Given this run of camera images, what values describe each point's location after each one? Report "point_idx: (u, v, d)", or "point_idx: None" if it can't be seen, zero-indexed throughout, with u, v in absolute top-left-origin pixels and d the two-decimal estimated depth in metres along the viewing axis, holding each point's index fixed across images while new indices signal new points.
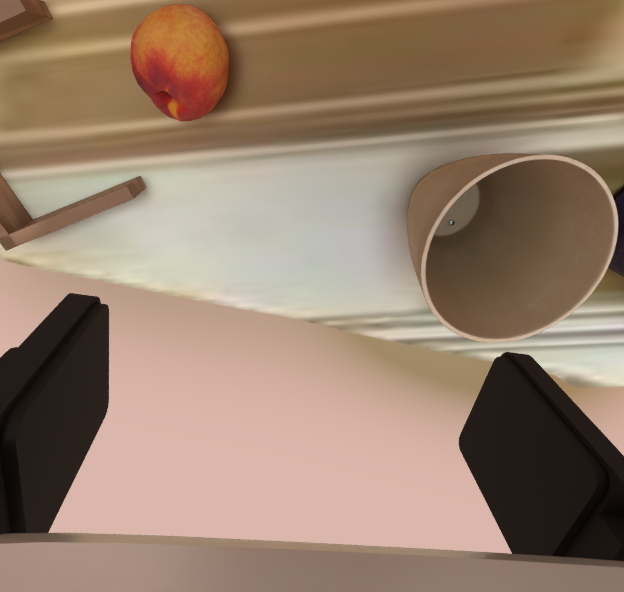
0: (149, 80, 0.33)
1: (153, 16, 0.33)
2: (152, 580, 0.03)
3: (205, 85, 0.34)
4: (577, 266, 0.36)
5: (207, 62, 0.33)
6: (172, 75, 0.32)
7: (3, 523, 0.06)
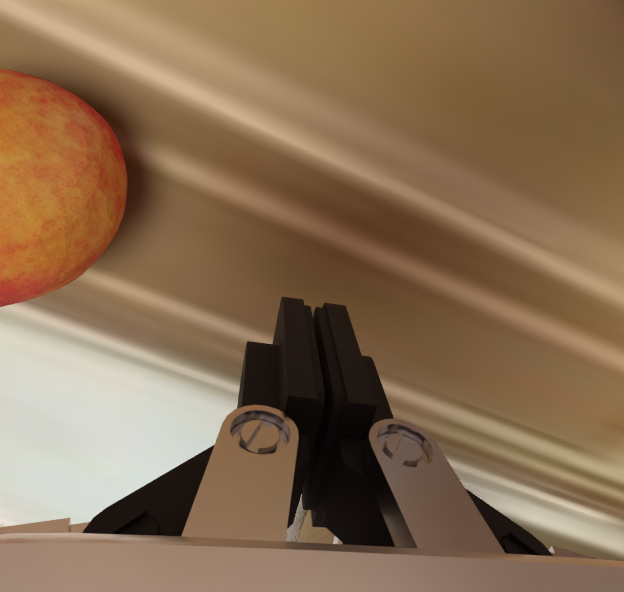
0: None
1: None
2: (152, 580, 0.03)
3: (8, 292, 0.14)
4: None
5: (33, 258, 0.14)
6: None
7: None
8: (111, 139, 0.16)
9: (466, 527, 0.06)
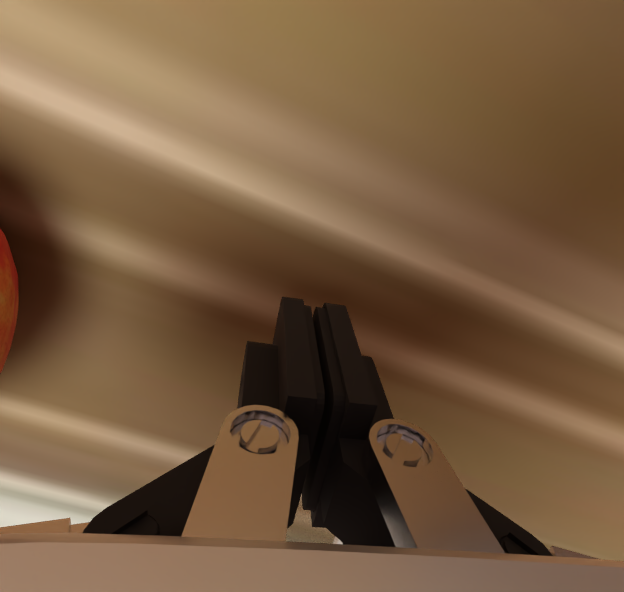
0: None
1: None
2: (152, 580, 0.03)
3: None
4: None
5: None
6: None
7: None
8: None
9: (466, 527, 0.06)
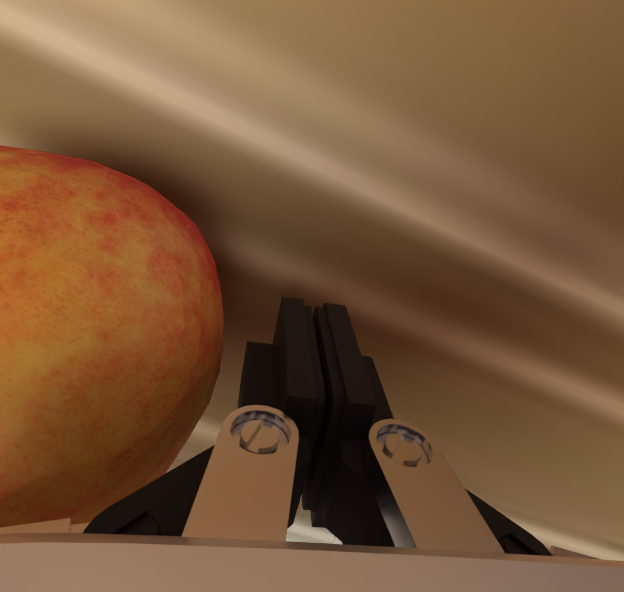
0: None
1: None
2: (152, 580, 0.03)
3: None
4: None
5: (88, 519, 0.07)
6: None
7: None
8: (208, 260, 0.09)
9: (466, 527, 0.06)
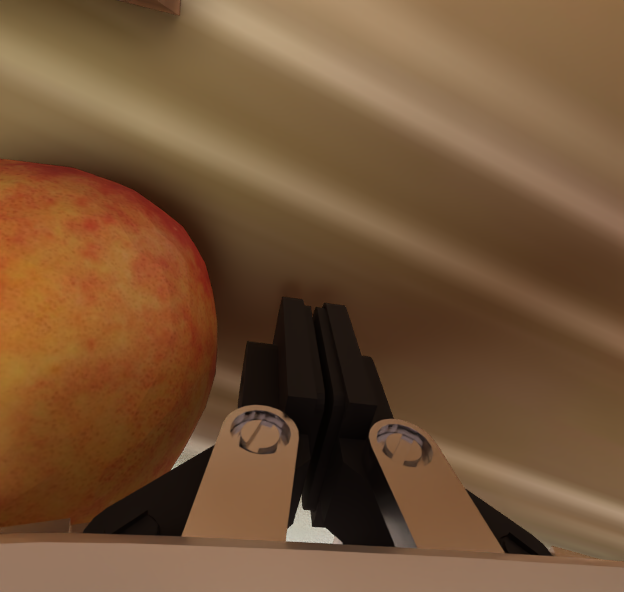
0: None
1: None
2: (152, 580, 0.03)
3: None
4: None
5: None
6: None
7: None
8: (197, 262, 0.09)
9: (466, 527, 0.06)
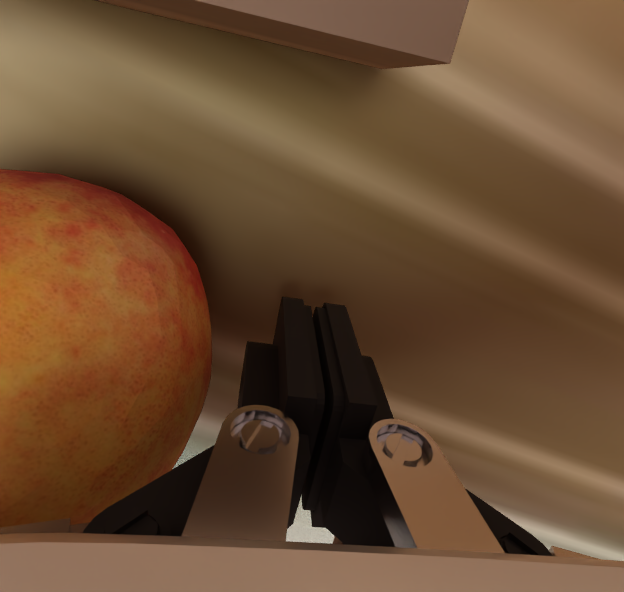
0: None
1: None
2: (152, 580, 0.03)
3: None
4: None
5: None
6: None
7: None
8: (187, 265, 0.09)
9: (466, 527, 0.06)
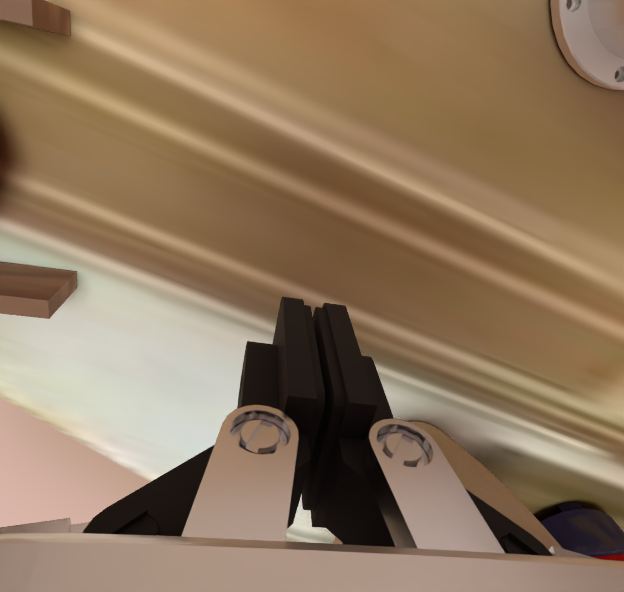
0: None
1: None
2: (152, 580, 0.03)
3: None
4: None
5: None
6: None
7: None
8: None
9: (466, 527, 0.06)
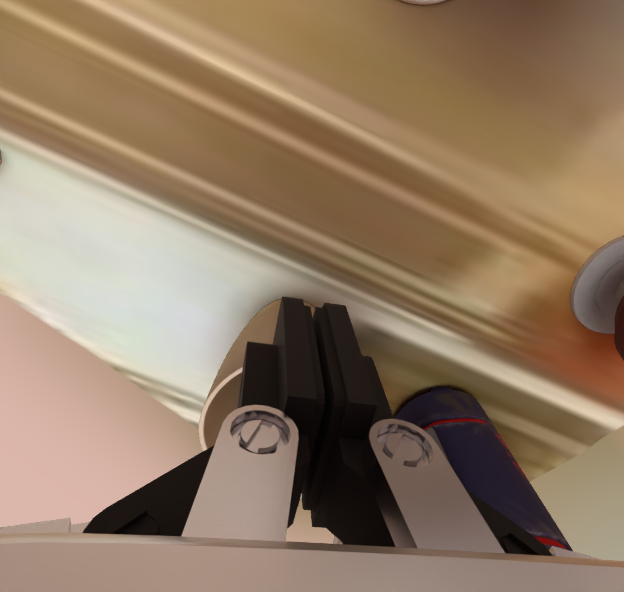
0: None
1: None
2: (152, 580, 0.03)
3: None
4: None
5: None
6: None
7: None
8: None
9: (466, 527, 0.06)
